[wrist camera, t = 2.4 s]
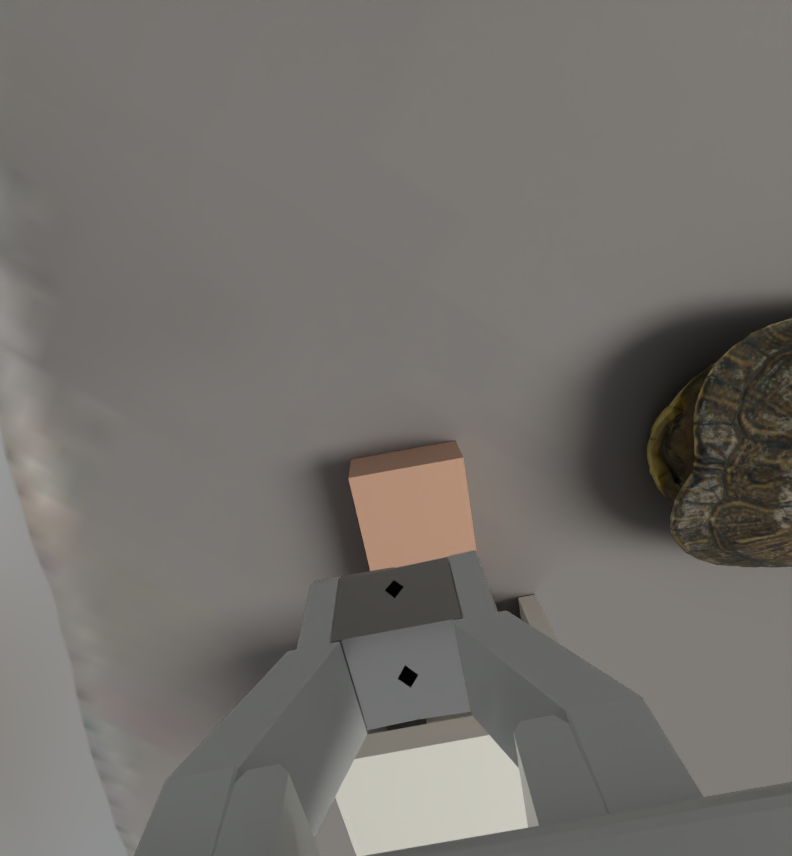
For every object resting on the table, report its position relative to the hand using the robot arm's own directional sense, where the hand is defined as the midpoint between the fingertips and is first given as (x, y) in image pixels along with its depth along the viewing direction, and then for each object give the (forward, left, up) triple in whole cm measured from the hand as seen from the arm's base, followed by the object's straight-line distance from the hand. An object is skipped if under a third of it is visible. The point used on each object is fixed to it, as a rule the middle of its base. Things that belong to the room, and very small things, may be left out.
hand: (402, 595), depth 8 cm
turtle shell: (+9, +24, -20) cm, 32 cm away
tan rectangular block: (+9, 0, -20) cm, 22 cm away
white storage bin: (+22, 0, -19) cm, 29 cm away
